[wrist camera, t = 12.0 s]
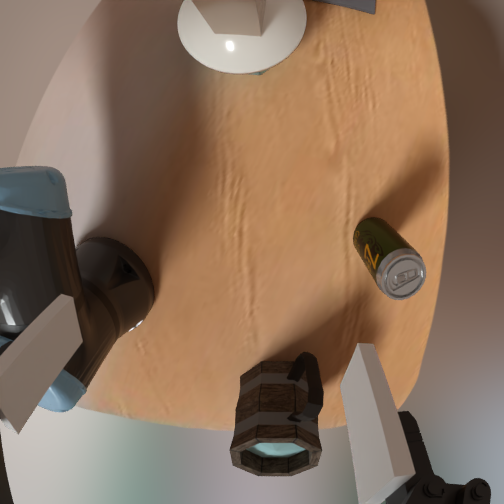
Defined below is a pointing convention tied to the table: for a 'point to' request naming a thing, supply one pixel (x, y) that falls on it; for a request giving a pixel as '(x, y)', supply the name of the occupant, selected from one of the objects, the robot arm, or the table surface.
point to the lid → (241, 32)
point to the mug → (278, 418)
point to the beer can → (389, 259)
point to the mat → (354, 4)
